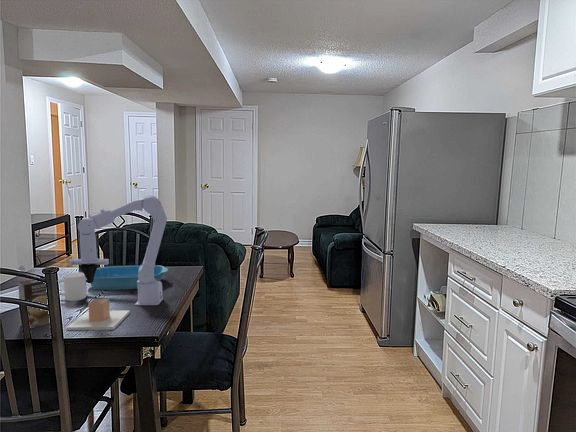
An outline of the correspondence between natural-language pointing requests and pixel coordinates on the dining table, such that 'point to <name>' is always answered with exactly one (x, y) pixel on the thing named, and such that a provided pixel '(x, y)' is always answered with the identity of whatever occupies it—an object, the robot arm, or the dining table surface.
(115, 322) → the white board
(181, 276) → the dining table surface
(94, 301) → the tan rectangular block
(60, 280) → the mug
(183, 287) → the dining table surface
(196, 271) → the dining table surface
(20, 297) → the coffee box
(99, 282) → the casserole dish
